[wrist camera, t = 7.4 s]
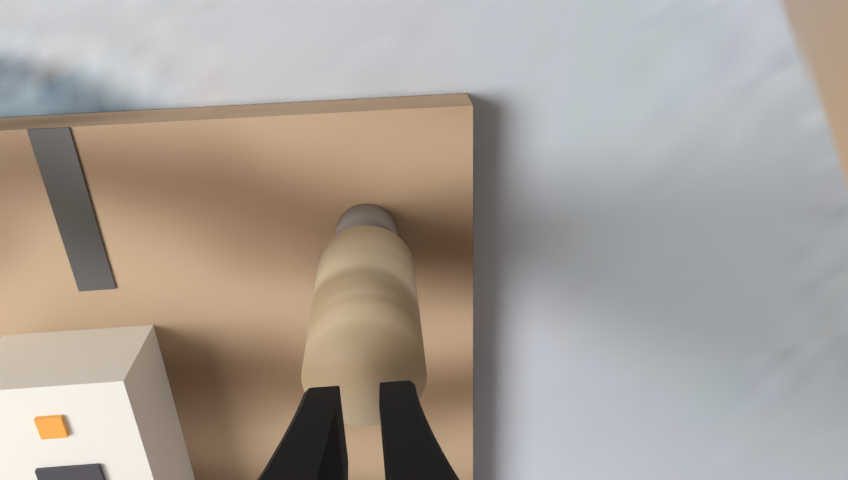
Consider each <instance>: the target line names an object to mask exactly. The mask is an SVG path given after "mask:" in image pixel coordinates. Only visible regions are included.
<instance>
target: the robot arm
mask: <svg viewBox="0 0 848 480" xmlns="http://www.w3.org/2000/svg"><path fill="white" fill-rule="evenodd" d="M379 410H380V422H381V434H382V446H383V457H384V469H385V480H459V478H458V476H457V475H456V473H455V472H454V470H453V468H452V467H451V465H450V463H449V462H448V460H447V458H446V456H445V455H444V453H443V451H442V449H441V447H440V445H439V443H438V442H437V440H436V438H435V436H434V434H433V432H432V430H431V428H430V426H429V423H428V421H427V419H426V417H425V414H424V412H423V409H422V407H421V404H420V401H419V398H418V395H417V391H416V387H415V384H414V383H412V382H411V381H410V380H408V381H394V382H381V383H380V385H379ZM257 480H348V454H347V446H346V437H345V429H344V420H343V412H342V404H341V395H340V387H339V386H327V387H313V388H309V389H308V390H307V391H305V392H304V395H303V397H302V399H301V402H300V404H299V406H298V408H297V410H296V413H295V415H294V417H293V419H292V421H291V423H290V425H289V426H288V428H287V430H286V432H285V434H284V436H283V438H282V439H281V441H280V443H279V445H278V446H277V448H276V450H275V452H274V453H273V455H272V457H271V458H270V460H269V462H268V464H267V465H266V467H265V468H264V470H263V472H262V473H261V475H260V476H259V478H258V479H257Z"/></svg>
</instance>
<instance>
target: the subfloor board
mask: <svg viewBox="0 0 848 480" xmlns="http://www.w3.org/2000/svg"><path fill="white" fill-rule="evenodd" d="M359 204H375V205H378V206H381V207H383V208H384V209H386V210H387V211H388V212H389V213H390V214H391V215H392V216H393V218H394V219H395V222H396V224H397V231H398V237H399V238H401V239H402V240H403V241H404V243H405V244H406V245H407V246H408V248H409V250H410V252H411V254H412V257H413V261H414V270H415V278H416V286H417V295H418V303H419V311H420V319H421V328H422V336H423V344H424V353H425V361H426V369H427V381H426V386H425V389H424V391H423V394H422V395H421V397H420V399H419V401H420V404H421V407H422V409H423V412H424V414H425V417H426V419H427V421H428V423H429V426H430V428H431V430H432V432H433V434H434V436H435V438H436V440H437V442H438V443H439V445H440V447H441V449H442V451H443V453H444V455H445V456H446V458H447V460H448V462H449V463H450V465H451V467H452V468H453V470H454V472H455V473H456V475H457V476H458V478H459V480H473V104H472V102H471V101H470V99H469V97H468V95H467V93H462V94H443V95H424V96H405V97H386V98H366V99H347V100H328V101H309V102H290V103H271V104H252V105H232V106H213V107H194V108H175V109H156V110H137V111H118V112H98V113H79V114H60V115H41V116H22V117H3V118H0V338H1V337H2V336H3V335H12V334H26V333H41V332H56V331H70V330H85V329H100V328H114V327H129V326H144V325H154V329H155V333H156V336H157V340H158V344H159V348H160V351H161V355H162V359H163V362H164V366H165V370H166V374H167V377H168V381H169V385H170V388H171V392H172V396H173V400H174V403H175V407H176V411H177V415H178V418H179V422H180V426H181V429H182V433H183V437H184V441H185V444H186V448H187V452H188V455H189V459H190V463H191V467H192V470H193V474H194V478H195V480H257V479H258V478H259V476H260V475H261V473H262V472H263V470H264V468H265V467H266V465H267V464H268V462H269V460H270V458H271V457H272V455H273V453H274V452H275V450H276V448H277V446H278V445H279V443H280V441H281V439H282V438H283V436H284V434H285V432H286V430H287V428H288V426H289V425H290V423H291V421H292V419H293V417H294V415H295V413H296V410H297V408H298V406H299V404H300V402H301V399H302V397H303V395H304V390H303V386H302V380H301V373H302V365H303V359H304V352H305V346H306V339H307V333H308V326H309V320H310V313H311V307H312V300H313V294H314V287H315V281H316V275H317V268H318V262H319V257H320V254H321V252H322V250H323V248H324V247H325V245H326V244H327V243H328V241H329V240H330V239H332V238H333V237H334V236H335V235H336V227H337V223H338V220H339V218H340V217H341V215H342V214H343V213H344V212H345V211H346V210H348V209H349V208H351V207H353V206H355V205H359ZM344 429H345V437H346V446H347V454H348V480H385V469H384V457H383V446H382V434H381V424H378V425H370V426H356V425H349V424H344Z"/></svg>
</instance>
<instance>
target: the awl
mask: <svg viewBox="0 0 848 480" xmlns="http://www.w3.org/2000/svg"><path fill="white" fill-rule="evenodd" d="M301 380H302V386H303V390H304V392H305V391H307V390H308V389H309V388H313V387H327V386H339V387H340V395H341V404H342V412H343V420H344V424H349V425H356V426H370V425H378V424H381V422H380V410H379V385H380V383H381V382H394V381H408V380H410V381H411V382H412V383H414V384H415V387H416V391H417V395H418V398H419V399H420V397H421V395H422V394H423V391H424V389H425V386H426V381H427V369H426V361H425V353H424V344H423V336H422V328H421V319H420V311H419V303H418V295H417V286H416V278H415V270H414V261H413V257H412V254H411V252H410V250H409V248H408V246H407V245H406V244H405V243H404V241H403V240H402V239H401V238H399V237H398V231H397V224H396V222H395V219H394V218H393V216H392V215H391V214H390V213H389V212H388V211H387V210H386V209H384V208H383V207H381V206H378V205H375V204H359V205H355V206H353V207H351V208H349V209H348V210H346V211H345V212H344V213H343V214H342V215H341V217H340V218H339V220H338V223H337V227H336V235H335V236H334V237H333V238H332V239H330V240H329V241H328V243H327V244H326V245H325V247H324V248H323V250H322V252H321V254H320V257H319V262H318V268H317V275H316V281H315V287H314V294H313V300H312V307H311V313H310V320H309V326H308V333H307V339H306V346H305V352H304V359H303V365H302V373H301Z"/></svg>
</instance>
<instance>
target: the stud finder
mask: <svg viewBox="0 0 848 480" xmlns="http://www.w3.org/2000/svg"><path fill="white" fill-rule="evenodd" d="M0 480H195V478H194V474H193V470H192V467H191V463H190V459H189V455H188V452H187V448H186V444H185V441H184V437H183V433H182V429H181V426H180V422H179V418H178V415H177V411H176V407H175V403H174V400H173V396H172V392H171V388H170V385H169V381H168V377H167V374H166V370H165V366H164V362H163V359H162V355H161V351H160V348H159V344H158V340H157V336H156V333H155V329H154V325H144V326H129V327H114V328H100V329H85V330H70V331H56V332H41V333H26V334H12V335H3V336H2V337H1V338H0Z"/></svg>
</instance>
